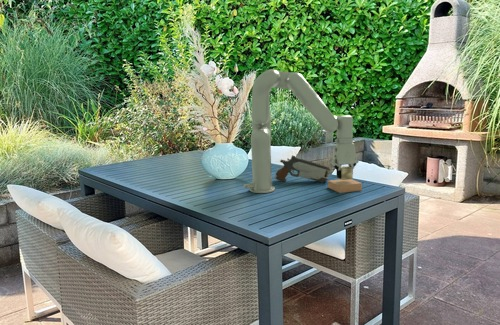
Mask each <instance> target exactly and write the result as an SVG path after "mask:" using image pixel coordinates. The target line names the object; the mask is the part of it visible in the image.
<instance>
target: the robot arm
mask: <svg viewBox="0 0 500 325" xmlns="http://www.w3.org/2000/svg"><path fill="white" fill-rule="evenodd" d="M272 88H274V89H275V88H276V89H283V90H290V91H291V93H292V94H293V95H294V96H295V97H296V99H297V100H298V101H299V102H300V103H301V105H302V106H303V107H304V109H305V110H306V111H308V112H309V114H311V115H312V117H313V118H314V119H315V120H316V122H318V124H319V125H320V127H321V129H322V130H324V131H325V132H327V133H334V132H335V131H336V139H334V142H335V143H336V144H335V147H334V153H333V159H332V161H331V162H330V165H331V166H332V167H333V168H334V169H335V170H336V179H339V178H341V170H340V169H341V167H342V166H348V167H352V168H353V170H354V169H355V167H356V166H357V164H358V163H359V161H360V160H358V158H357V150H356V146H355V143H354V142H353V140H354V139H353V137H354V135H353V134H354V133H353V132H354V123H353V122H354V120H353V116H352V115H348V114H347V115H346V114H345V115H344V114H343V115H342V114H341V115H334V114H333V113H332V112H331V110H330V109H329V107H328V106H326V104H325V103H324V102H323V100H322V98H321V97H320V96H319V95H318V93H317V92H316V91H315V90H314V88H313V87H312V86H311V84H310V83H309V81H307V80H306V78H305V77H304V76H303V75H302V74H301V73H299V72H291V71H290V72H289V71H283V70H282V71H281V70H276V69H273V68H271V69H266V70H264V71H263V72H261V74H259V75H258V76H257V77H256V79H255V81H254V82H253V86H252V89H251V90H252V91H251V116H250V117H251V120H252V121H251V125H252V126H251V131H252V132H251V135H250V148H251V149H250V150H251V170H252V172H251V173H252V181H250V182H249V183H243V189H249V191H250V192H251V193H254V194H255V193H256V194H267V193H272V192H275V191H276V187H275V186H274V185H272V184H273V182H272V181H273V178H272V150H271V149H272V148H271V142H272V141H271V140H272V138H271V136H272V134H271V133H272V129H271V126H272V124H271V123H272V122H271V121H272V120H271V118H272V116H271V115H272V113H271V110H270V99H271V98H270V96H271V95H270V93H271V90H272Z"/></svg>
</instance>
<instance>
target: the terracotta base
mask: <svg viewBox="0 0 500 325" xmlns="http://www.w3.org/2000/svg"><path fill="white" fill-rule="evenodd" d="M362 186H363V183H362V182H359V181H357V180H354V179H347V180H341V179H339V178H337V179H330V180H327V188H328V189H330V190H332V191H335V192H337V193H338V194H343V193H352V192H361V191H363V189H362V188H363V187H362Z"/></svg>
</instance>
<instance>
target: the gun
mask: <svg viewBox="0 0 500 325" xmlns="http://www.w3.org/2000/svg"><path fill="white" fill-rule="evenodd" d="M279 162H280V163H281V164H283V167H281V168H279V169H278V170H277V171H276V173H275V175H274V180H277V181H280V182H283V183H285V182H287V178H286V177H287V176H288V174H290V176H292V177H296V178H298V177H299V178H304V179H306V180H312V181H315V182H319V183H321V184H322V183H324V182H328V181H329V180H328V179H329V177H330V176H329V175H330V173H331V168H330V167H329V166H326V165H322V164H320V163H316V162H312V161H309V160H307V159H303V158H299V157H297V156H296V155H291V158H288V157H287V160H285V159H280V160H279ZM295 171H296V172H297V173H295Z"/></svg>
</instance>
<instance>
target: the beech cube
mask: <svg viewBox="0 0 500 325" xmlns="http://www.w3.org/2000/svg"><path fill="white" fill-rule="evenodd" d="M340 170H341V178H338V179H341V180H347V179H352V180H354V179H353V178H354V177H353V176H354V169H353V168H352V167H349V166H348V165H342V166H341V169H340Z"/></svg>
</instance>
